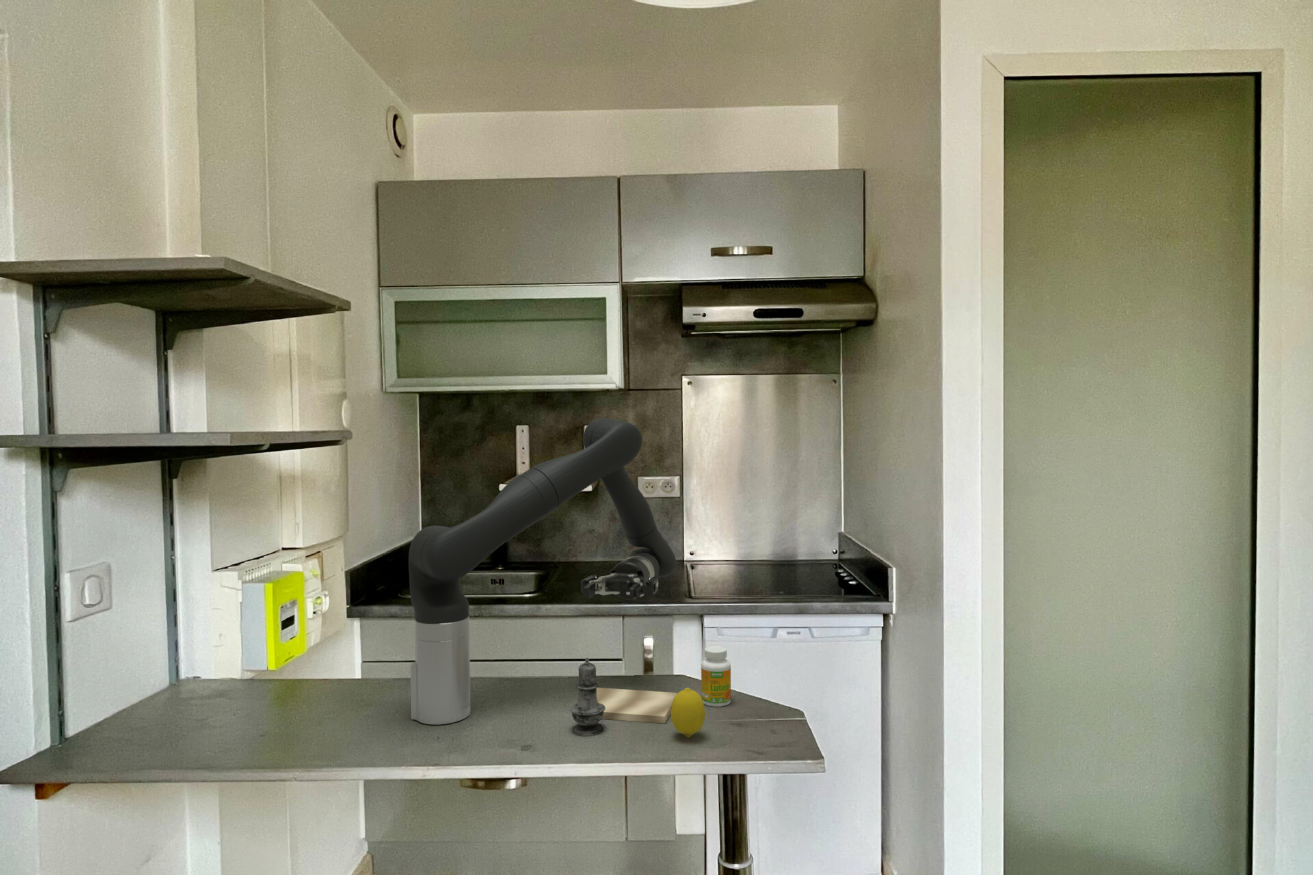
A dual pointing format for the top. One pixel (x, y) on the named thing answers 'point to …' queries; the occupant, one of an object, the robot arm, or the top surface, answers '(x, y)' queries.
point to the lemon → (688, 712)
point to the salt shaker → (587, 703)
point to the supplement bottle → (716, 677)
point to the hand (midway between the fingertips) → (609, 593)
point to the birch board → (635, 705)
